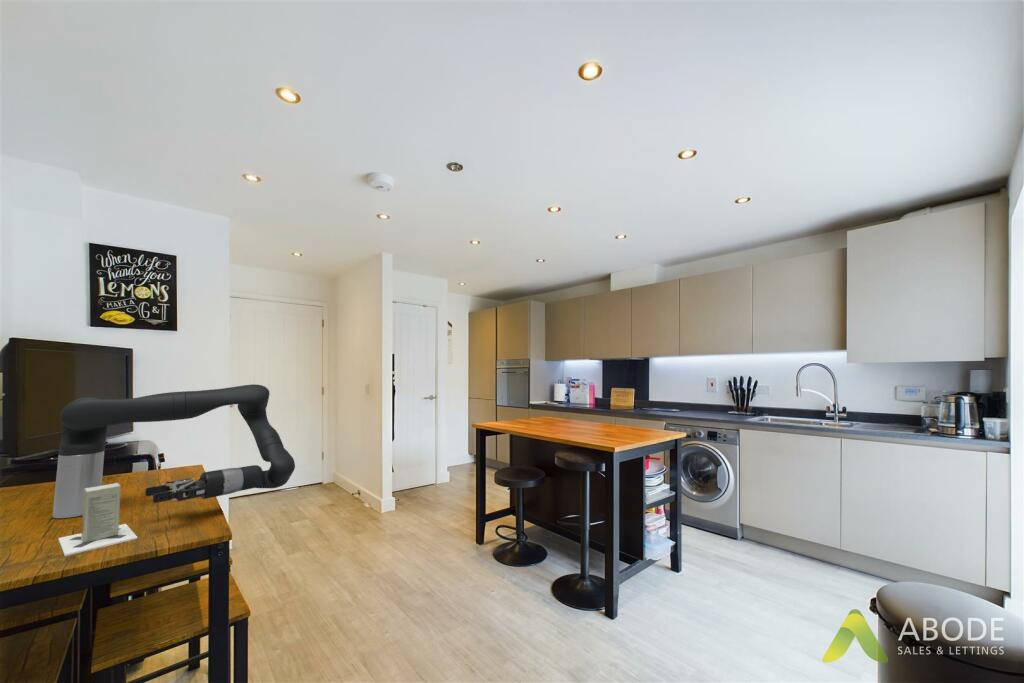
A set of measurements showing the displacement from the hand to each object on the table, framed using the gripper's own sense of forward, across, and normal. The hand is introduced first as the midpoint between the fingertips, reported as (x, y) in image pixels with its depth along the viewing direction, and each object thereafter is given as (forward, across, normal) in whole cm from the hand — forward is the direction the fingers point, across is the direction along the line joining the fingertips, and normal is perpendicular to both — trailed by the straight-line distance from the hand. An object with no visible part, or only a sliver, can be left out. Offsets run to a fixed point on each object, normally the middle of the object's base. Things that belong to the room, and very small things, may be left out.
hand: (149, 495), depth 106 cm
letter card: (+9, 0, +8) cm, 12 cm away
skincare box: (+9, 0, +8) cm, 12 cm away
